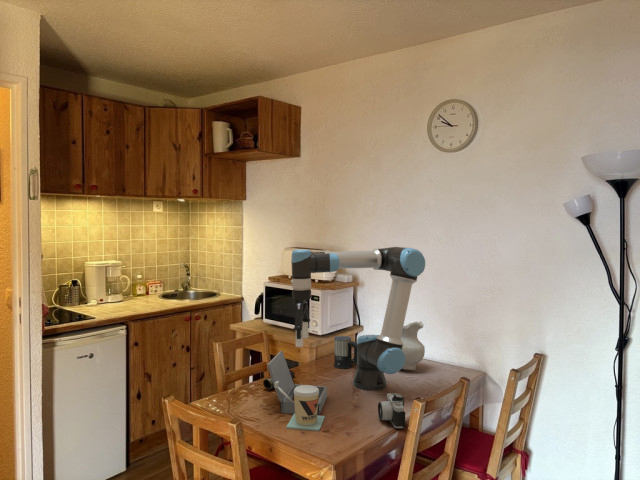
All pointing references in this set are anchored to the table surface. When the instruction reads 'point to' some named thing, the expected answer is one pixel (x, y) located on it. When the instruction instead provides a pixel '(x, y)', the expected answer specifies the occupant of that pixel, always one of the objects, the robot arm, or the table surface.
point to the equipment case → (288, 385)
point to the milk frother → (344, 352)
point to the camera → (393, 410)
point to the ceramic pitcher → (412, 345)
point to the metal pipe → (269, 383)
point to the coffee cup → (306, 404)
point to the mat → (314, 427)
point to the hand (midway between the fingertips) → (302, 342)
